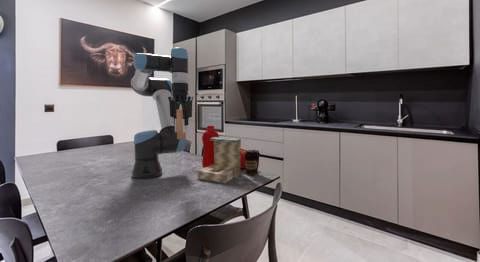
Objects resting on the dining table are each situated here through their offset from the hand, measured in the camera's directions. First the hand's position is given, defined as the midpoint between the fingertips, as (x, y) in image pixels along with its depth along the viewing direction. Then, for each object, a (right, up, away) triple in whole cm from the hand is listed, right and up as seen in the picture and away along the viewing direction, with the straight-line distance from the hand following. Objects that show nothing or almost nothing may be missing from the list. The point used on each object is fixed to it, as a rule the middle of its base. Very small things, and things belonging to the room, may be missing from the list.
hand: (181, 131), depth 113 cm
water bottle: (+10, -21, +31) cm, 39 cm away
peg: (0, -3, 0) cm, 3 cm away
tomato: (+28, -22, +28) cm, 45 cm away
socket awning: (+18, -23, +12) cm, 32 cm away
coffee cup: (+35, -23, +14) cm, 44 cm away
